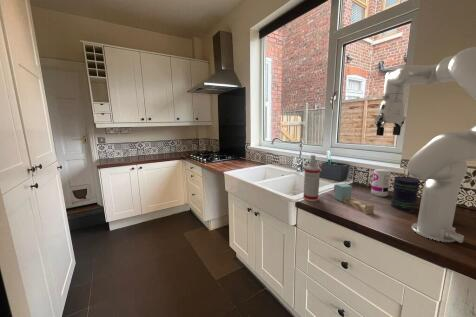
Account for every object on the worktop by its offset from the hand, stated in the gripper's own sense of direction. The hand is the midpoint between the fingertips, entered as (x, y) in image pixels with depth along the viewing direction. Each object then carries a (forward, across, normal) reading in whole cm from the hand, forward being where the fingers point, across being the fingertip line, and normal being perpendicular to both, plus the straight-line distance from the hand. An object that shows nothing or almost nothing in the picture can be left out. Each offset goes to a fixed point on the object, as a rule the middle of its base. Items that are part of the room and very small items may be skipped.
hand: (388, 135), depth 99 cm
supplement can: (+36, +15, +14) cm, 42 cm away
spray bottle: (+36, -28, +18) cm, 49 cm away
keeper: (+36, -12, +12) cm, 40 cm away
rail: (+36, -12, +6) cm, 39 cm away
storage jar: (+36, +10, -4) cm, 38 cm away
